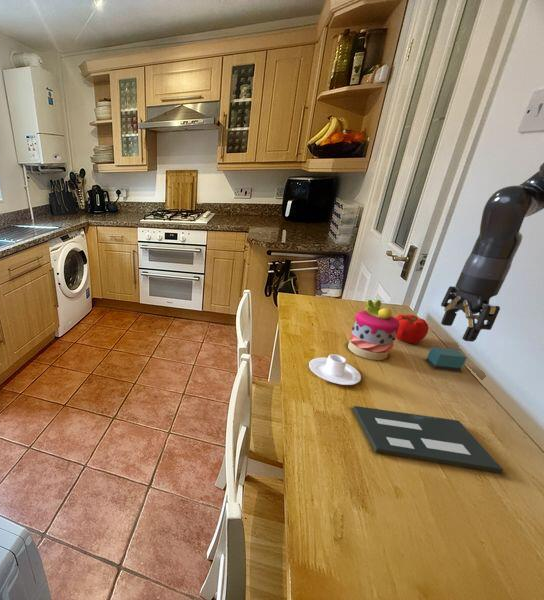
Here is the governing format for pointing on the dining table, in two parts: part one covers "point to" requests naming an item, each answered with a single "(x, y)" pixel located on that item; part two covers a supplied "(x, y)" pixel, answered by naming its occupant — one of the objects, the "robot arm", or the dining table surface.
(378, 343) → the cake
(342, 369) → the candle holder
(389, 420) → the chalkboard
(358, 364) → the dining table surface
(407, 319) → the tomato
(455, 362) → the eraser
